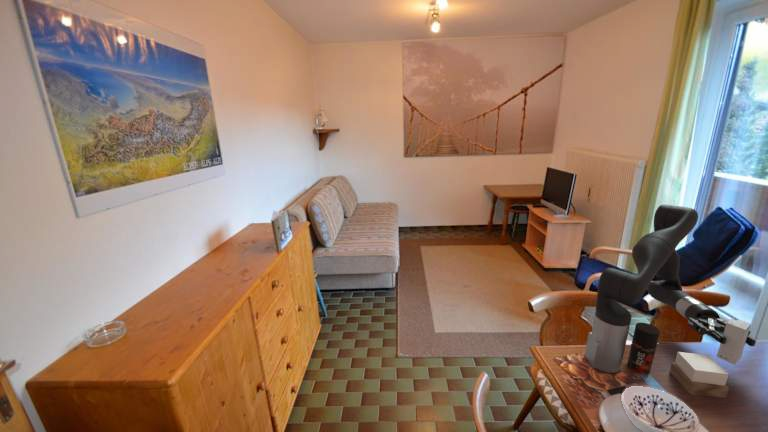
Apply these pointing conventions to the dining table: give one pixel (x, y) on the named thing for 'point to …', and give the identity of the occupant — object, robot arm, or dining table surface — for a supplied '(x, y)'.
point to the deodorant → (643, 348)
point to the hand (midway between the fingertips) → (739, 342)
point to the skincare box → (734, 340)
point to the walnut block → (698, 384)
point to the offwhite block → (701, 368)
